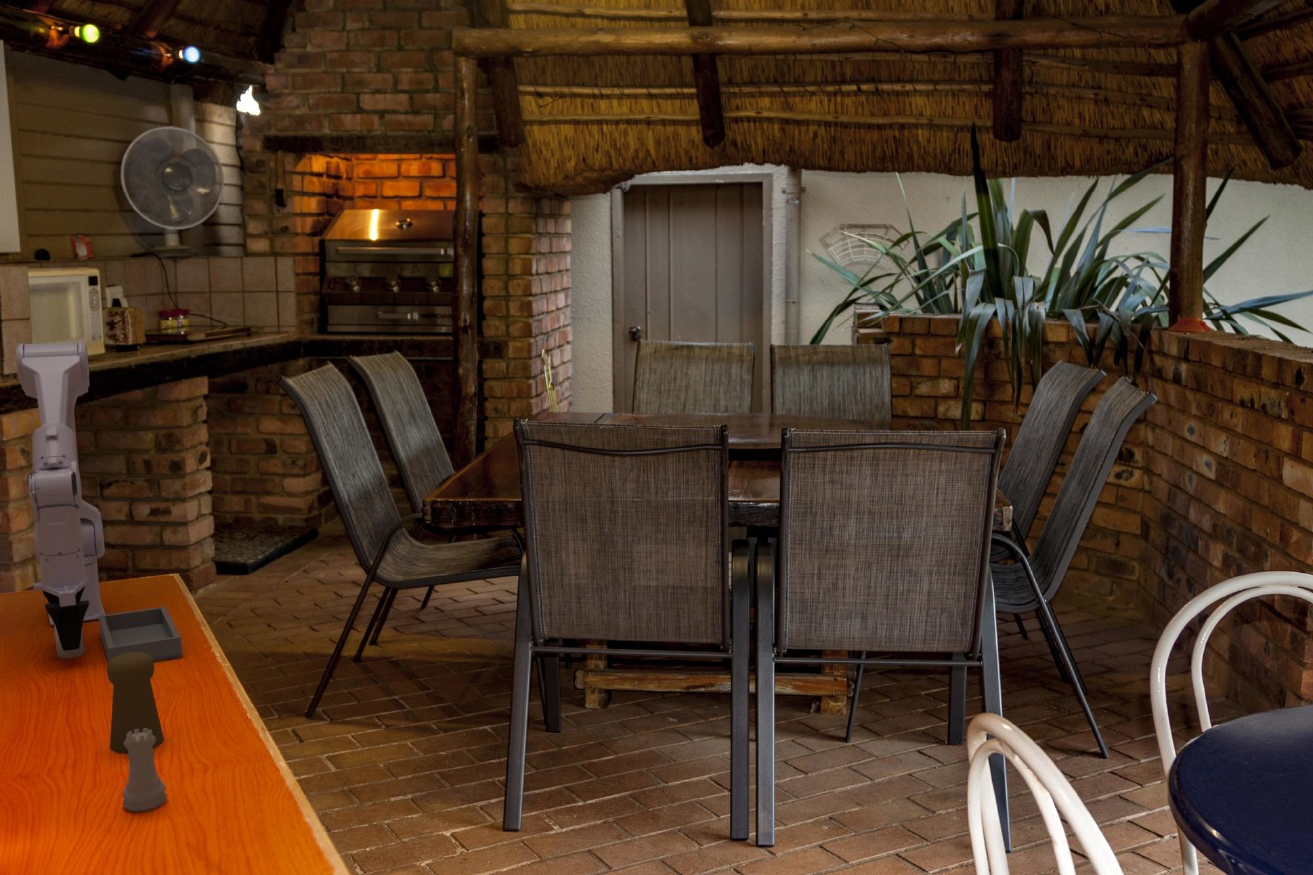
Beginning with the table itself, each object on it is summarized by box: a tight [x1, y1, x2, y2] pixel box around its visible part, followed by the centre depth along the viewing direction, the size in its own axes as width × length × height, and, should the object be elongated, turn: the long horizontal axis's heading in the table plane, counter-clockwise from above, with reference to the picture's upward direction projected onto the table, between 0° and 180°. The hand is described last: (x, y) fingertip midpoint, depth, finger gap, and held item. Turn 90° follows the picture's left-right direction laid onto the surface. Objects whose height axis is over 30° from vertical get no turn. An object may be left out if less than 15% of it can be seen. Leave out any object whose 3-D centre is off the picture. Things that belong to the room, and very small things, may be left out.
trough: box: [98, 606, 183, 664], centre depth 186 cm, size 18×10×3 cm, turn 28°
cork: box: [106, 652, 165, 755], centre depth 149 cm, size 6×6×11 cm
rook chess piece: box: [121, 728, 168, 813], centre depth 133 cm, size 4×4×8 cm
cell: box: [53, 624, 85, 660], centre depth 182 cm, size 4×4×7 cm
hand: (69, 641), depth 182 cm, fingers open, 7 cm apart
